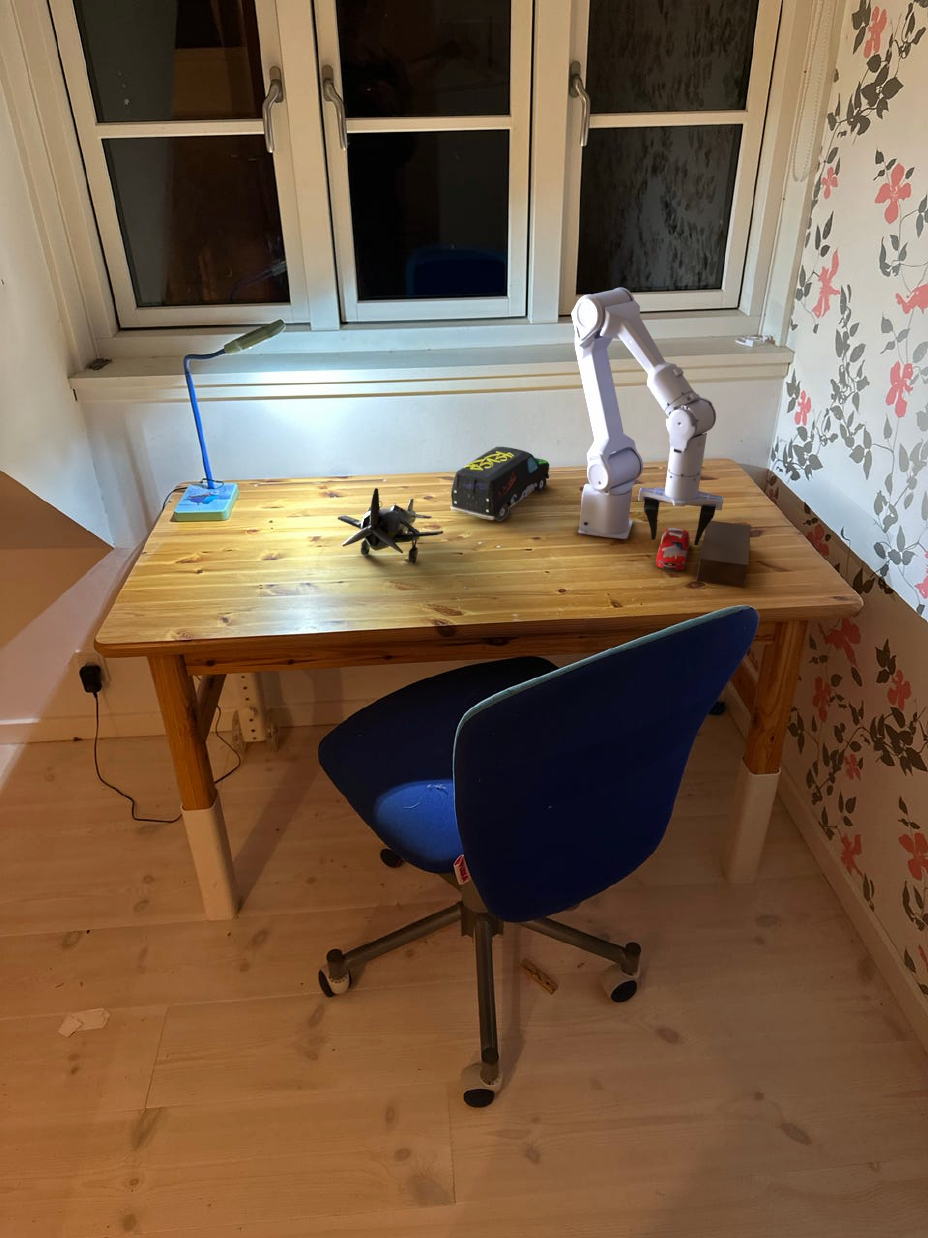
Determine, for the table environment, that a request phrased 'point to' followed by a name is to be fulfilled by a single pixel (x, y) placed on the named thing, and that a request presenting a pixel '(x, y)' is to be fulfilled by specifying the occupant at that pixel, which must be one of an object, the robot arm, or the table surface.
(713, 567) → the step block
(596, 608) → the table surface
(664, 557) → the race car
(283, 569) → the table surface
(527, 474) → the toy van
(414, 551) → the airplane toy
